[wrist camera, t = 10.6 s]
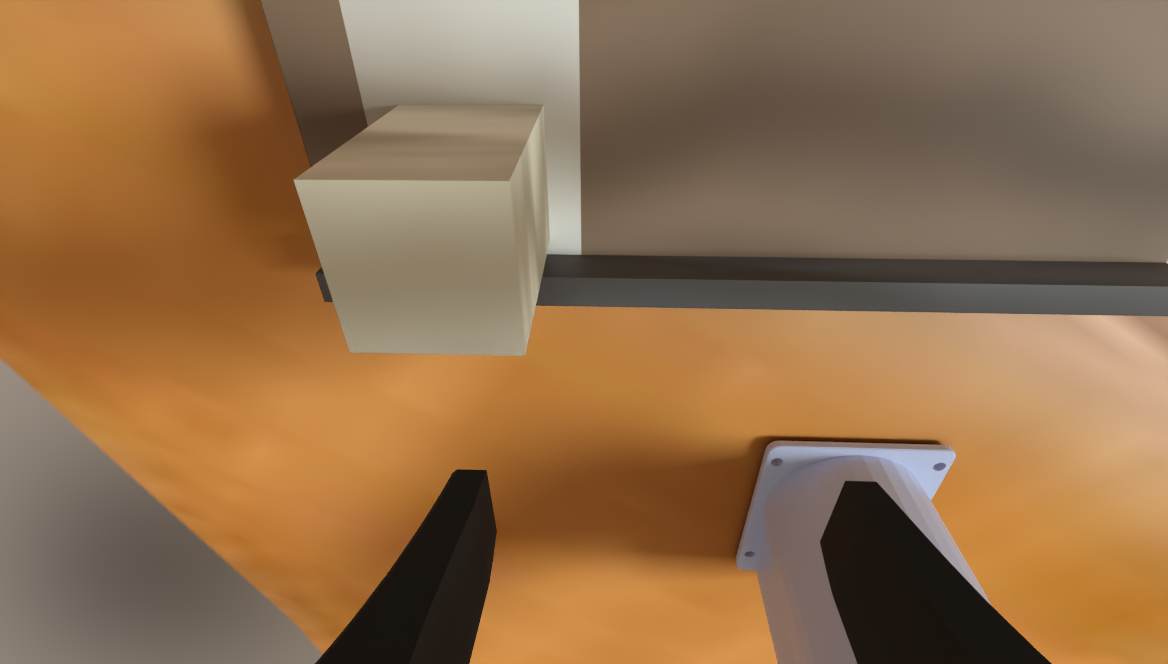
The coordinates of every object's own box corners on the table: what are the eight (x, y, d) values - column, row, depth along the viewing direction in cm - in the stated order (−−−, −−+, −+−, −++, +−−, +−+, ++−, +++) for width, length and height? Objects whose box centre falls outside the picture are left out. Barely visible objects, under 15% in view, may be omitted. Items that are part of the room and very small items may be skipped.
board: (1110, 268, 18) (1187, 316, 16) (361, 257, 19) (324, 301, 17) (1315, -58, 13) (1477, -61, 11) (277, -50, 14) (206, -51, 12)
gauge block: (550, 239, 17) (525, 356, 12) (424, 238, 17) (349, 352, 12) (543, 104, 15) (509, 181, 10) (398, 104, 15) (293, 179, 10)
